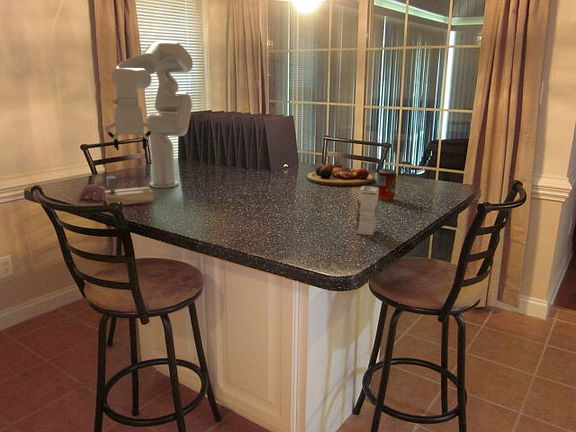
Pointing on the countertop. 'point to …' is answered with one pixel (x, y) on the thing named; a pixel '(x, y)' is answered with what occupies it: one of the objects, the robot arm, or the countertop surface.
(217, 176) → the countertop surface
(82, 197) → the pink domed lump
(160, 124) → the robot arm
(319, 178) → the wooden plate with food
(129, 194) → the fader board
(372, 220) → the syrup box
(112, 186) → the fader knob
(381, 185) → the soda can
